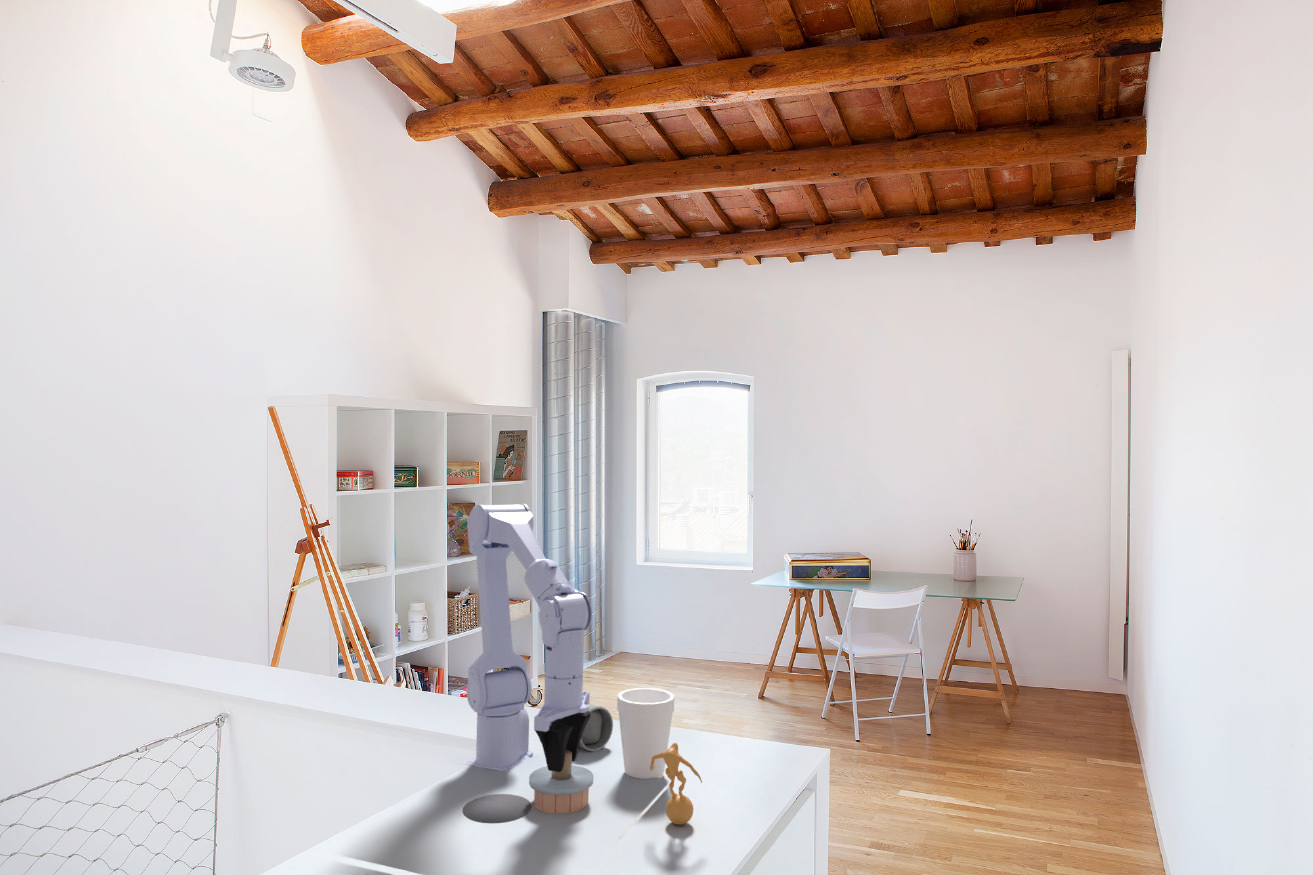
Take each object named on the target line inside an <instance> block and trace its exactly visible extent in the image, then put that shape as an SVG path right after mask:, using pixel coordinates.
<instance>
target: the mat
mask: <svg viewBox="0 0 1313 875" xmlns="http://www.w3.org/2000/svg"><path fill="white" fill-rule="evenodd" d="M532 807H533V806H532V803H531V802H530V800H529V799H527V798H525V797H523V796H520V795H516V794H510V793H508V794H507V793H494V794H488V795H487V794H486V795H483V796H479V797H476V798H474V799H472V800H469V801H467V803H465V805H463V807H462V814H463V816H464V817H465V818H467V819H468V820H471V821H473V822H477V823H481V824H501V823H502V824H503V823H509V822H512V821H515V820H519V819H521V818H524V817H525V816H527V815H528V814H529V813H530V812H531V810H532Z"/></svg>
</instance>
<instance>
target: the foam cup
mask: <svg viewBox="0 0 1313 875" xmlns="http://www.w3.org/2000/svg"><path fill="white" fill-rule="evenodd" d="M616 702H617V703H616V705H617V706H616V710H617V712H618V721H619V728H620V737H621V738H620V739H621V740H620V741H621V745H622V747H621V749H622V756H623V757H622V758H623V766H624V773H625V774H626V775H627V776H629V777H632V778H636V779H642V780H643V779H644V780H645V779H647V780H649V779H656V778H657V779H663V777H664V775H665V774H664V773H665V770H666V763H665V761H664V758H659V759H655V761H654V765H653V766H655V767H653V768H654V770H653V768H652V770H651V771H650V765H651V761H652V757H653V756H654V755H656V754H660V753H662V752H665V751H667V750H668V749H669V748H668V747H669V741H670V740H669V738H670V734H671V733H670V732H671V725H672V718H673V713H674V711H675V695H674V693H672V692H670V691H668V690H664V689H661V688H654V687H653V688H652V687H638V688H630V689H629V688H628V689H625V690H623V691H620V692H618V694H617V698H616Z"/></svg>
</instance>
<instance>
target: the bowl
mask: <svg viewBox="0 0 1313 875" xmlns="http://www.w3.org/2000/svg"><path fill="white" fill-rule="evenodd" d="M533 790H534V789H533ZM589 795H590V794H589V788H588V789H586V790H584V791H582V792H578V793H574V794H567V795H551V794H544V793H541V792H538V791H535V790H534V793H533V796H534V797H533V801H534V802H533V803H534V804H533V805H534V807H535V808H536V809H538V810H539V811H542V812H543V813H547V814H548V813H549V814H557V815H559V814H571V813H574V812H577V811H578V812H579V811H580V810H581V811H582V810H583V809H584V808H585V807H586V806H587V805H588V804H589Z"/></svg>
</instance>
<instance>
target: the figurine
mask: <svg viewBox="0 0 1313 875" xmlns="http://www.w3.org/2000/svg"><path fill="white" fill-rule="evenodd" d="M659 758H664V761H665V766H666V767H665V769H664V773H665V774H666V776H667V778H668V779H669V780H670V782H669V784H668V787H669V791H670V794H671V797H670V798H669V799H668V800H667V802H666V805H665V813H666V817H667V819H668V820H669V822H671V823H672V824H674V825H677V826H682V825H685V824H687V823H689V821H690V820H691V819H692V817H693V814H694V804H693V802H692V800H691V799H690V798H689V797H688V796H686V795H684V794H683V791H684V788H685V786H686V782H687V778H686V776H684V772H683V770H682V769H681V770H679V766H680V763H681V764H683V765H685V766H686V767H688V768H689V769H690V771H691V772H692V773H693V774H694V775H695V776H697V778H698V779H699V780H700V783H701V784H702V783H703V781H702V777H701V775H700V774H699V773H698V770H696V769H695V768H694V766H693V765H692V764H691V763H690V762H689V761H688V760H687V759H685V758H683V756H682V755H681V754H680V753H679V744H678V743H677V742H674V743H672V744H671V745H670V747H669V748H667V751H665V752H662V753H660V754H656V755H654V756H653V757H652V761H651V765H650V771H651V770H652V768H653V767H655V766H653V765H654V761H655V759H659ZM653 770H654V768H653ZM675 779H677V780H678V781H680V782H681V784H680V785H679V786H678V793H676V792H675V790H674V787H675Z"/></svg>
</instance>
